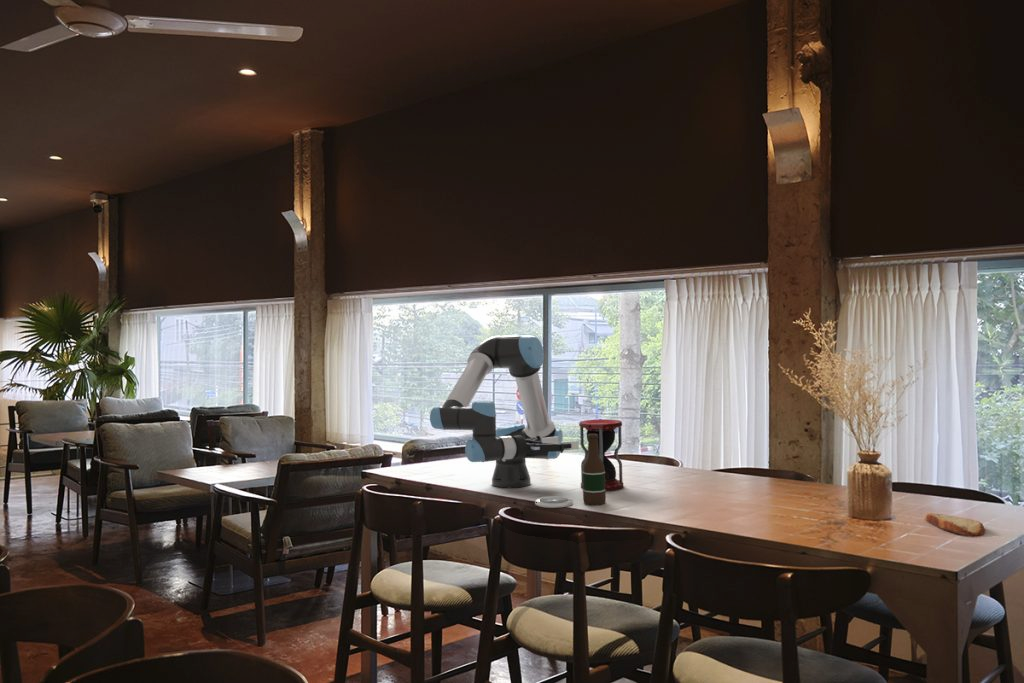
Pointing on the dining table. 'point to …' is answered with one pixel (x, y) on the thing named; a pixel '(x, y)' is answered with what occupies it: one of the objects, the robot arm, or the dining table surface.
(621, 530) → the dining table surface
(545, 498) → the plate
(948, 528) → the bread slice
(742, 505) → the dining table surface
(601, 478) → the beer bottle
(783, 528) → the dining table surface
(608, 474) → the hourglass
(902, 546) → the dining table surface
